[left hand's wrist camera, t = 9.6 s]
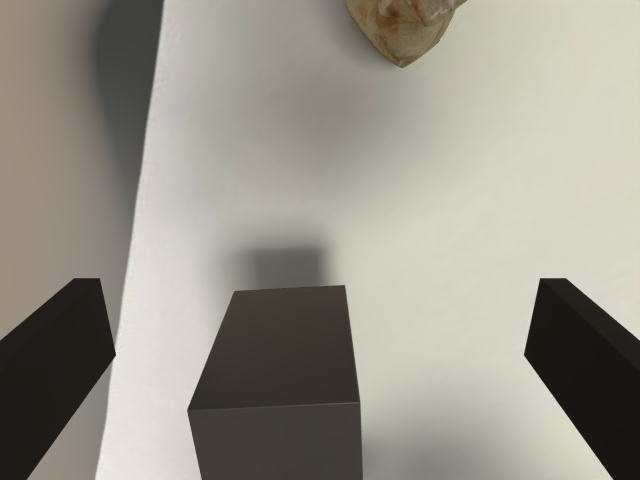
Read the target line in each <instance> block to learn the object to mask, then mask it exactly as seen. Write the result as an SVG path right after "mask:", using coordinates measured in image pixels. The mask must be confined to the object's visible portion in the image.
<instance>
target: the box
mask: <svg viewBox="0 0 640 480" xmlns="http://www.w3.org/2000/svg"><path fill="white" fill-rule="evenodd" d="M187 412H188V417H189V421H190V426H191V431H192V436H193V440H194V445H195V450H196V454H197V459H198V464H199V469H200V473H201V478H202V480H363V472H362V440H361V409H360V396H359V388H358V381H357V373H356V365H355V358H354V350H353V342H352V335H351V327H350V319H349V311H348V304H347V296H346V288H345V285H339V286H320V287H302V288H284V289H265V290H247V291H234V293H233V296H232V298H231V301H230V303H229V306H228V308H227V311H226V314H225V316H224V319H223V321H222V324H221V326H220V329H219V331H218V334H217V336H216V339H215V341H214V344H213V346H212V349H211V351H210V354H209V357H208V359H207V362H206V364H205V367H204V369H203V372H202V374H201V377H200V379H199V382H198V384H197V387H196V389H195V392H194V394H193V397H192V400H191V402H190V405H189V407H188V410H187Z"/></svg>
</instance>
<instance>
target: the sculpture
mask: <svg viewBox="0 0 640 480" xmlns="http://www.w3.org/2000/svg"><path fill="white" fill-rule="evenodd" d="M466 1H467V0H345V3H346V6H347V8H348V10H349V12H350V14H351V16H352V18H353V19H354V21H355V22H356V24H357V25H358V27H359V28H360V29H361V30H362V32H363V33H364V34H365V35H366V36H367V37H368V39H369V40H370V41H371V42H372V43H373V44H374V46H375V47H376V48H377V49H378V50H379V51H380V52H381V53H382V54H383V56H384V57H385V58H387V59H388V60H389V61H390V62H392V63H393V64H395V65H396V66H398V67H401V68H402V67H406V66H407V65H409V64H411V63H412V62H414V61H415V60H417V59H418V58H420V57H421V56H422V55H423V54H425V53H426V52H427V51H429V50H430V49H431V48H432V47H434V46H435V45H436V44H437V43H438V42H439V41H440V38H441V37H442V35H443V34H444V32H445V30H446V29H447V27H448V25H449V23H450V21H451V19H452V17H453V15H454V12H455V10H456V8H458V7H459V6H460V5H462V4H463V3H464V2H466Z"/></svg>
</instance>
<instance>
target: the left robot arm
mask: <svg viewBox="0 0 640 480" xmlns="http://www.w3.org/2000/svg"><path fill="white" fill-rule="evenodd" d="M115 356H116V352H115V348H114V343H113V338H112V334H111V329H110V324H109V319H108V315H107V310H106V305H105V300H104V296H103V291H102V286H101V282H100V278H74V279H73V280H72V281H70V282H69V283H68V284H67V285H66V286H65V287H63V288H62V289H61V290H60V291H59V292H57V293H56V294H55V295H54V296H53V297H51V298H50V299H49V300H48V301H47V302H45V303H44V304H43V305H42V306H41V307H40V308H38V309H37V310H36V311H35V312H34V313H32V314H31V315H30V316H29V317H28V318H26V319H25V320H24V321H23V322H22V323H21V324H19V325H18V326H17V327H16V328H15V329H13V330H12V331H11V332H10V333H9V334H8V335H6V336H5V337H4V338H3V339H2V340H0V480H27V478H28V477H29V476H30V474H31V473H32V472H33V470H34V469H35V467H36V466H37V465H38V463H39V462H40V460H41V459H42V458H43V456H44V455H45V453H46V452H47V451H48V449H49V448H50V446H51V445H52V444H53V442H54V441H55V440H56V438H57V437H58V435H59V434H60V433H61V431H62V430H63V428H64V427H65V426H66V424H67V423H68V421H69V420H70V419H71V417H72V416H73V414H74V413H75V412H76V410H77V409H78V408H79V406H80V405H81V403H82V402H83V401H84V399H85V398H86V396H87V395H88V393H89V392H90V391H91V389H92V388H93V387H94V385H95V384H96V382H97V381H98V380H99V378H100V377H101V375H102V374H103V373H104V371H105V370H106V368H107V367H108V366H109V364H110V363H111V362H112V360H113V359H114V357H115ZM524 356H525V357H526V359H527V360H528V362H529V363H530V364H531V366H532V367H533V369H534V370H535V371H536V373H537V374H538V375H539V377H540V378H541V380H542V381H543V382H544V384H545V385H546V387H547V388H548V389H549V391H550V392H551V394H552V395H553V396H554V398H555V399H556V401H557V402H558V403H559V405H560V406H561V408H562V409H563V410H564V412H565V413H566V414H567V416H568V417H569V419H570V420H571V421H572V423H573V424H574V426H575V427H576V428H577V430H578V431H579V433H580V434H581V435H582V437H583V438H584V440H585V441H586V442H587V444H588V445H589V446H590V448H591V449H592V451H593V452H594V453H595V455H596V456H597V458H598V459H599V460H600V462H601V463H602V465H603V466H604V467H605V469H606V470H607V472H608V473H609V474H610V476H611V477H612V478H613V480H640V340H638V339H637V338H636V337H635V336H634V335H633V334H631V333H630V332H629V331H628V330H627V329H625V328H624V327H623V326H622V325H621V324H619V323H618V322H617V321H616V320H615V319H614V318H612V317H611V316H610V315H609V314H608V313H606V312H605V311H604V310H603V309H602V308H600V307H599V306H598V305H597V304H596V303H595V302H593V301H592V300H591V299H590V298H589V297H587V296H586V295H585V294H584V293H583V292H581V291H580V290H579V289H578V288H577V287H576V286H574V285H573V284H572V283H571V282H570V281H568V280H567V279H566V278H540V282H539V286H538V291H537V296H536V300H535V305H534V310H533V315H532V319H531V324H530V329H529V334H528V338H527V343H526V348H525V352H524Z"/></svg>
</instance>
